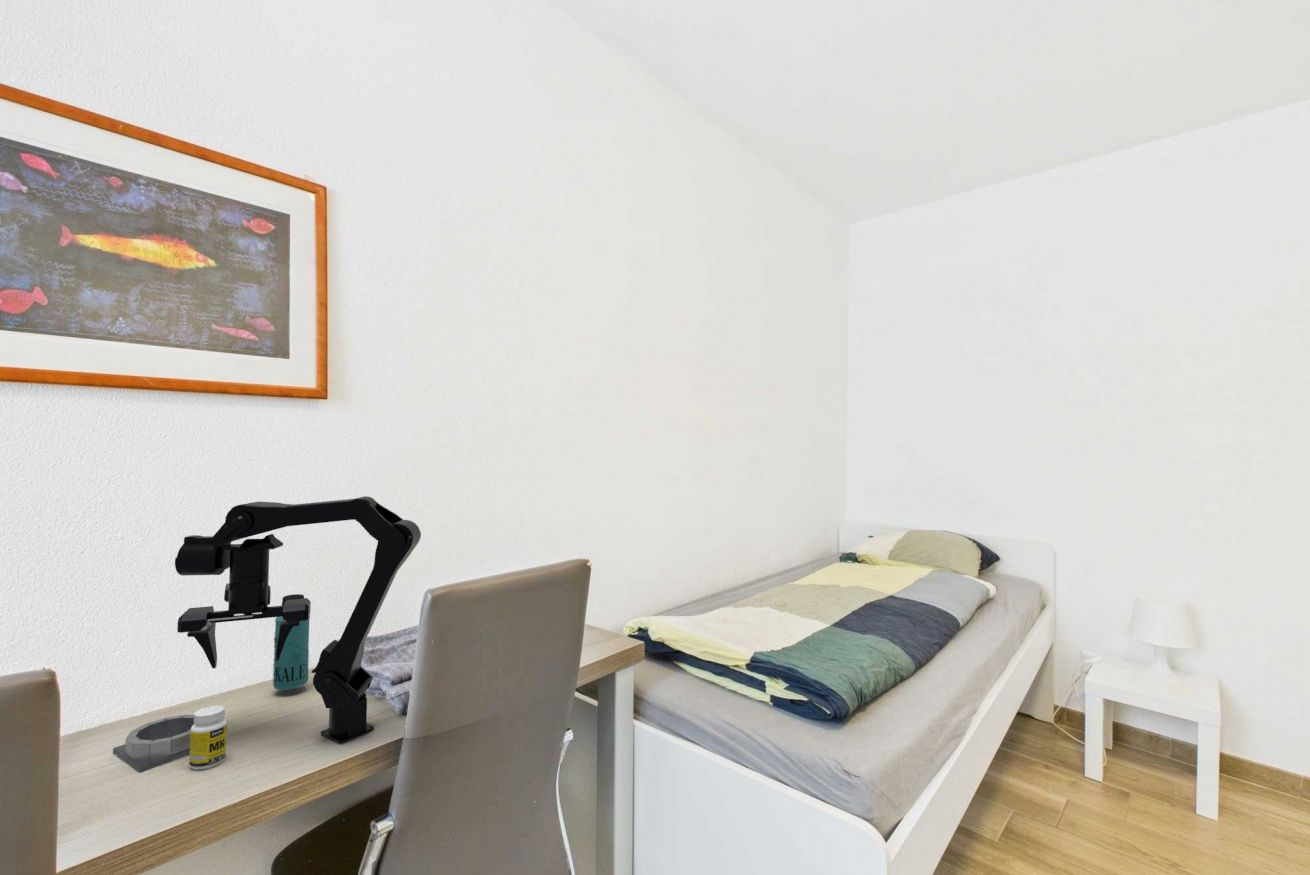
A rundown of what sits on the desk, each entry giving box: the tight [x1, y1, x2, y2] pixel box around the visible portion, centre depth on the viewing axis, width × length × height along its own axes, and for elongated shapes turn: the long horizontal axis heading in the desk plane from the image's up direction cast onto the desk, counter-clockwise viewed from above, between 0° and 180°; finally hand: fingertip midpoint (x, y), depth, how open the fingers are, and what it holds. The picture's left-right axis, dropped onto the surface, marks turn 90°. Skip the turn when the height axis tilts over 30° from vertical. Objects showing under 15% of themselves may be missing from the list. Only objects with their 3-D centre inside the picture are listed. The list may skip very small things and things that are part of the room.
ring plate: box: [112, 714, 195, 773], centre depth 100 cm, size 11×11×3 cm
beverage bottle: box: [272, 593, 311, 691], centre depth 124 cm, size 6×7×20 cm
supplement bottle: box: [188, 705, 228, 771], centre depth 96 cm, size 5×5×8 cm
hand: (246, 663), depth 104 cm, fingers open, 9 cm apart
